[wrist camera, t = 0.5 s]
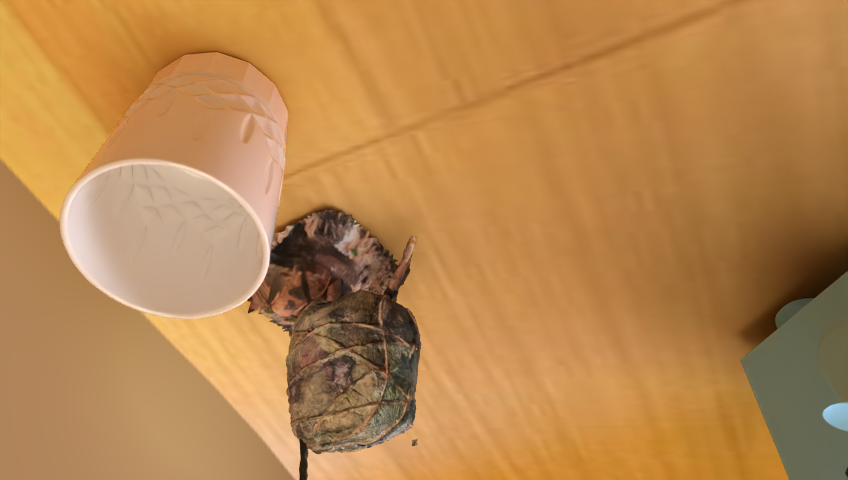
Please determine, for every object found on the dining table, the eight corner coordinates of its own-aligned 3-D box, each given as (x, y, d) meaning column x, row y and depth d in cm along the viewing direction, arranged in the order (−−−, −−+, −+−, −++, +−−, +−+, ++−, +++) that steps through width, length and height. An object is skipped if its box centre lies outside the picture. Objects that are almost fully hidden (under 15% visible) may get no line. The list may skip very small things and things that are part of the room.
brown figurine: (457, 283, 45) (474, 644, 29) (286, 341, 48) (217, 696, 32) (395, 175, 40) (375, 536, 25) (209, 246, 43) (86, 609, 28)
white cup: (320, 71, 37) (291, 197, 29) (279, 200, 41) (244, 338, 33) (148, 14, 35) (68, 131, 27) (126, 155, 39) (51, 290, 32)
